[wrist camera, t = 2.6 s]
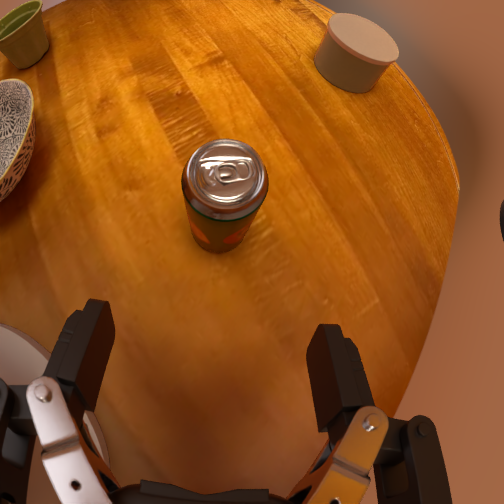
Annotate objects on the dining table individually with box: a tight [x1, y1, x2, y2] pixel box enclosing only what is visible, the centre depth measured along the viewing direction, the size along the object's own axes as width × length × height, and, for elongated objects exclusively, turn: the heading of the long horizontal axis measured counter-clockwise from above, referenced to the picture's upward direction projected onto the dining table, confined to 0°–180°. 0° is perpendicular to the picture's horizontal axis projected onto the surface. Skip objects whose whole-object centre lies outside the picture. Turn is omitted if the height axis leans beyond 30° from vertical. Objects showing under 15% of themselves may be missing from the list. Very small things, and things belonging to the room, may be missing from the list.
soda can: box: [181, 139, 269, 253], centre depth 22 cm, size 5×5×12 cm
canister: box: [314, 13, 399, 93], centre depth 30 cm, size 9×9×7 cm
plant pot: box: [0, 0, 49, 69], centre depth 24 cm, size 9×9×9 cm
